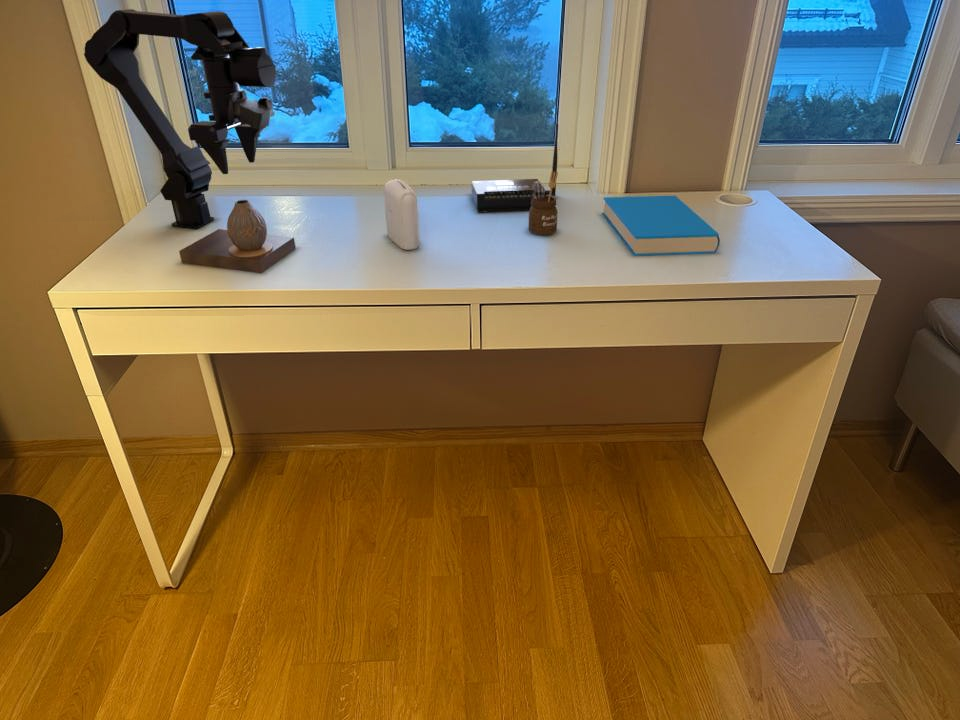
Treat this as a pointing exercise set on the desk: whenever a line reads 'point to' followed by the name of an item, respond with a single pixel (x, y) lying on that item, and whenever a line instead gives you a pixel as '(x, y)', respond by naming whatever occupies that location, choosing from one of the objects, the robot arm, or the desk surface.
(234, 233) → the vase
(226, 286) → the desk surface
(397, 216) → the photo printer
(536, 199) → the utensil holder
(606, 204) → the book
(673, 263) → the desk surface
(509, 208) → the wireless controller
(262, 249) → the riser board
